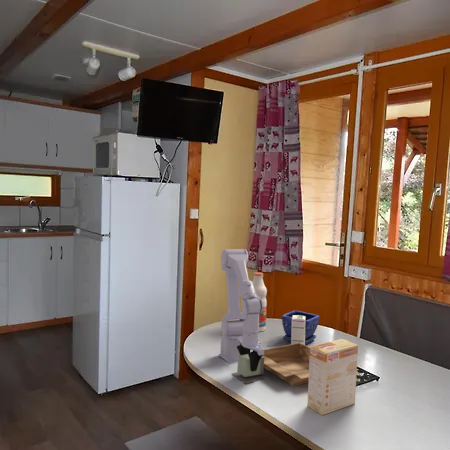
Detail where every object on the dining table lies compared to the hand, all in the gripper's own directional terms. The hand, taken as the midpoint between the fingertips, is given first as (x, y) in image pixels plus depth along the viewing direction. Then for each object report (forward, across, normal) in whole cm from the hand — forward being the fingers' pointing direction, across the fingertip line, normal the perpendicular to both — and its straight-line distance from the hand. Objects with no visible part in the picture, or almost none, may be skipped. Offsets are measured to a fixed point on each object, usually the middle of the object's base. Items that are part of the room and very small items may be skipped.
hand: (249, 367), depth 152 cm
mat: (+3, 0, 0) cm, 3 cm away
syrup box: (+4, +13, -34) cm, 37 cm away
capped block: (+2, 0, 0) cm, 2 cm away
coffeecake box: (+4, -29, -12) cm, 32 cm away
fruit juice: (+3, +44, -34) cm, 56 cm away
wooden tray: (+3, -6, -17) cm, 18 cm away
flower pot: (+4, +22, -43) cm, 48 cm away
